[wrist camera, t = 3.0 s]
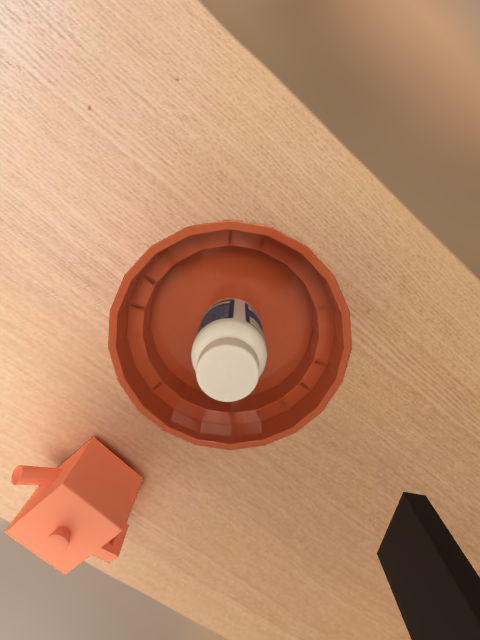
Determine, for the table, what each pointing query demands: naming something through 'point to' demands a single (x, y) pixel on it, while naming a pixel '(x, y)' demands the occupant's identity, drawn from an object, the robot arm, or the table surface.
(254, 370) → the pill bottle
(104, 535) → the pink cube teapot
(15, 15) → the table surface
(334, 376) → the bowl
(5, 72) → the table surface
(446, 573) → the robot arm
